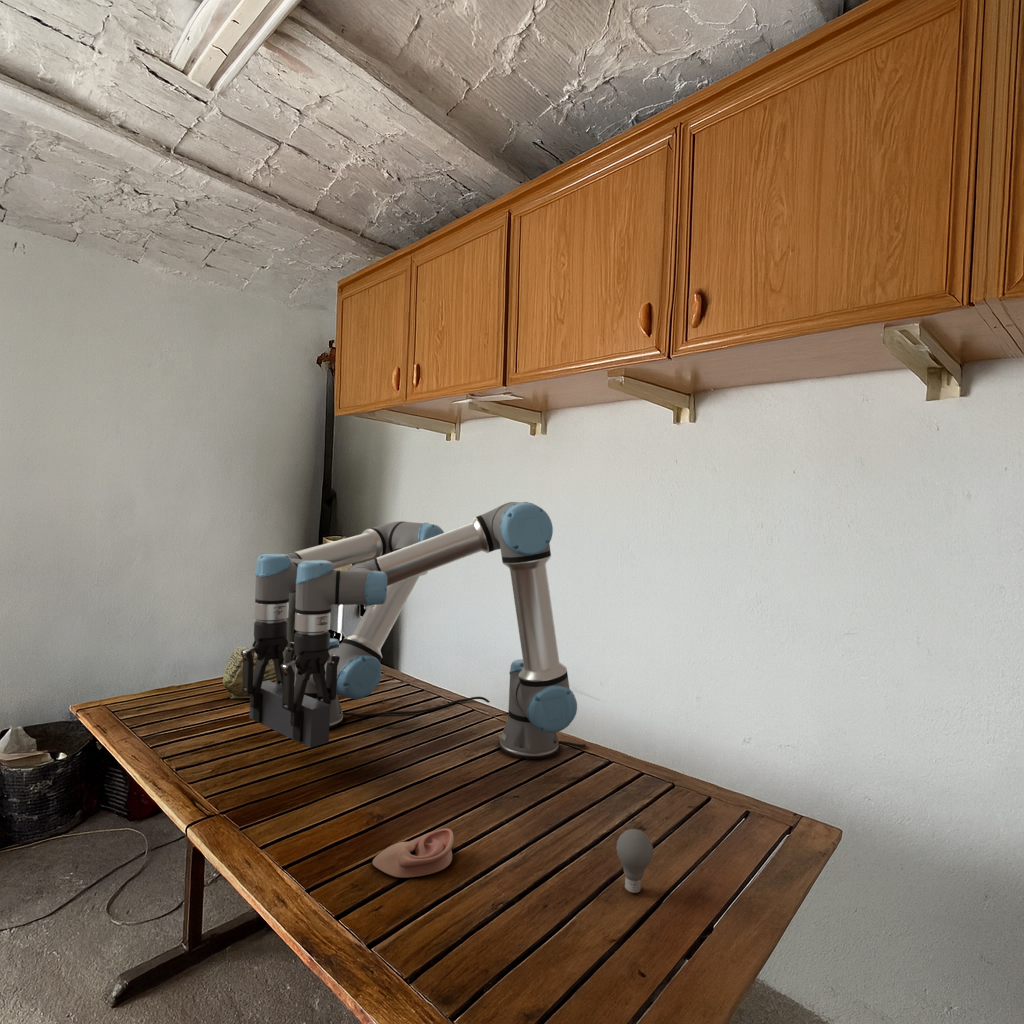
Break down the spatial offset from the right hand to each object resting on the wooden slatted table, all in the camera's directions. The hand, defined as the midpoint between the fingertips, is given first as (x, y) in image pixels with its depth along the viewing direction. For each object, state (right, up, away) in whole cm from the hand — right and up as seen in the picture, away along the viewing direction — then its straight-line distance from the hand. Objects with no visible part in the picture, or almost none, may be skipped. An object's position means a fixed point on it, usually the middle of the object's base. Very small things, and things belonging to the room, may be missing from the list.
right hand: (308, 736), depth 139 cm
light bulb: (+65, -14, -33) cm, 74 cm away
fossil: (-36, -8, +59) cm, 69 cm away
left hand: (-13, +1, +10) cm, 17 cm away
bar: (-6, 0, +5) cm, 8 cm away
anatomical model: (+27, -12, -27) cm, 41 cm away
